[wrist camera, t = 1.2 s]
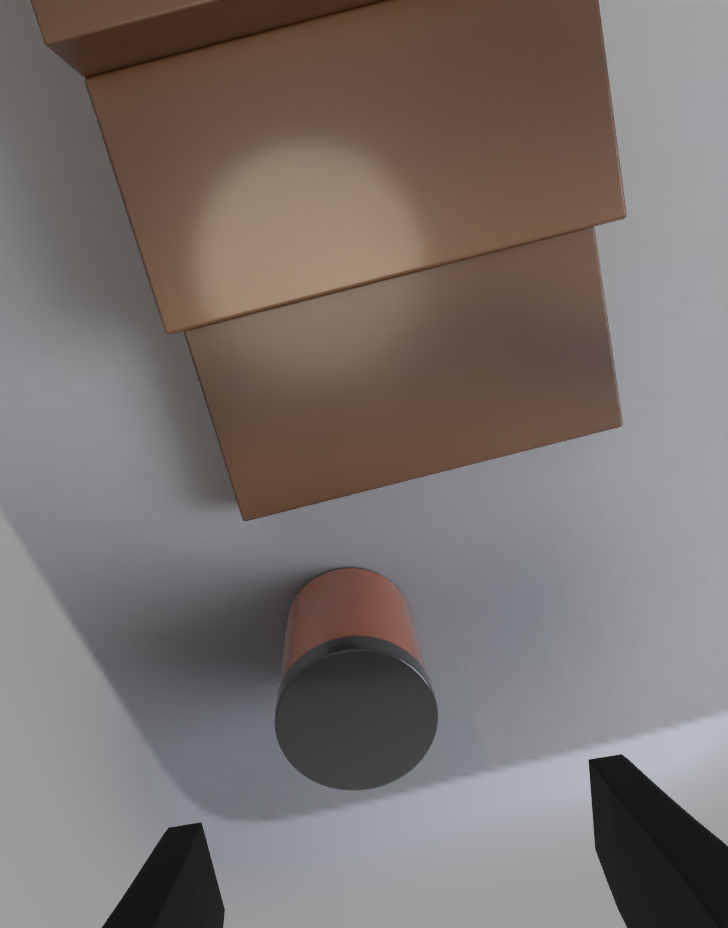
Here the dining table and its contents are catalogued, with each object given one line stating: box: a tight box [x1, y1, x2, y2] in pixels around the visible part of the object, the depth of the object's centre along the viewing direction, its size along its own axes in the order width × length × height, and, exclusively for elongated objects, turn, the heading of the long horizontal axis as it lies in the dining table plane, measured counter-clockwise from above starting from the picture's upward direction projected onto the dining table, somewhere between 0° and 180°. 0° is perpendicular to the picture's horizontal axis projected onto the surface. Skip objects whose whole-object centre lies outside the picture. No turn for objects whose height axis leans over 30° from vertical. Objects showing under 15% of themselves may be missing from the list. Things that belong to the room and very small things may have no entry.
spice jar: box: [275, 568, 438, 791], centre depth 19 cm, size 4×4×5 cm
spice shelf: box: [30, 0, 626, 521], centre depth 16 cm, size 16×11×6 cm, turn 14°
